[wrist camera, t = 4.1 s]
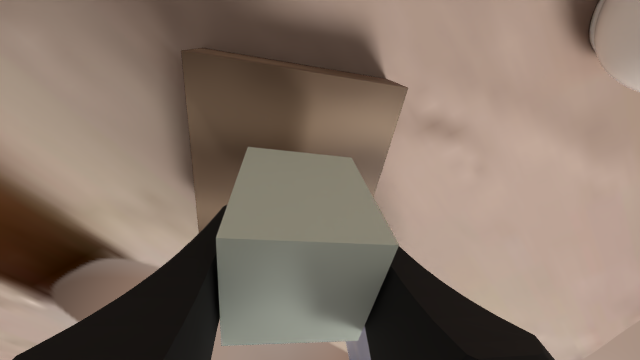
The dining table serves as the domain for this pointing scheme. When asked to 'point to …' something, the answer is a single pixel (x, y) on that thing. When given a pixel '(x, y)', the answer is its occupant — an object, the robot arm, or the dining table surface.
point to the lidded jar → (618, 40)
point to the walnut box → (280, 117)
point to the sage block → (299, 250)
